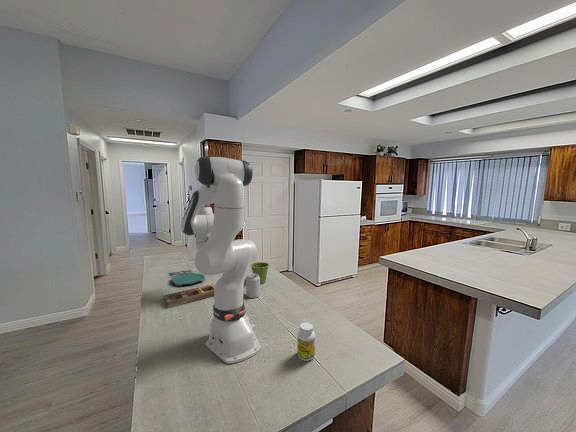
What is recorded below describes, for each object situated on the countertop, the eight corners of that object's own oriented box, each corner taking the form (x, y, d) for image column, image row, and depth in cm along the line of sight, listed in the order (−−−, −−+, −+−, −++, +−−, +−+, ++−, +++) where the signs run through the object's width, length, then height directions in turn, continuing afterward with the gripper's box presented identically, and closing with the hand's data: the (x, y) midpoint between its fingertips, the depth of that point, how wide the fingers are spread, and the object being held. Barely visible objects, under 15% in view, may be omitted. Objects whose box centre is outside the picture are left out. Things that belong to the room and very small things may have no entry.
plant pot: (270, 279, 161) (270, 262, 160) (267, 286, 149) (267, 268, 148) (253, 278, 162) (252, 261, 161) (248, 285, 150) (248, 267, 149)
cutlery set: (174, 290, 142) (174, 286, 142) (165, 275, 166) (165, 272, 166) (208, 283, 154) (208, 279, 153) (195, 270, 178) (195, 267, 178)
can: (257, 299, 131) (257, 277, 130) (244, 297, 133) (244, 276, 132) (261, 293, 139) (261, 273, 137) (249, 292, 140) (249, 272, 139)
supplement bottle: (316, 352, 90) (317, 323, 89) (312, 363, 84) (312, 332, 83) (300, 348, 92) (300, 319, 91) (294, 358, 86) (295, 328, 85)
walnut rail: (219, 295, 136) (219, 290, 136) (168, 308, 121) (168, 302, 120) (212, 288, 145) (212, 283, 145) (163, 299, 129) (163, 294, 129)
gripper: (217, 238, 127) (218, 264, 129) (204, 232, 143) (205, 255, 145) (205, 240, 123) (206, 266, 125) (193, 233, 140) (194, 257, 141)
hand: (205, 260), depth 135 cm, fingers closed on steel block, 5 cm apart
